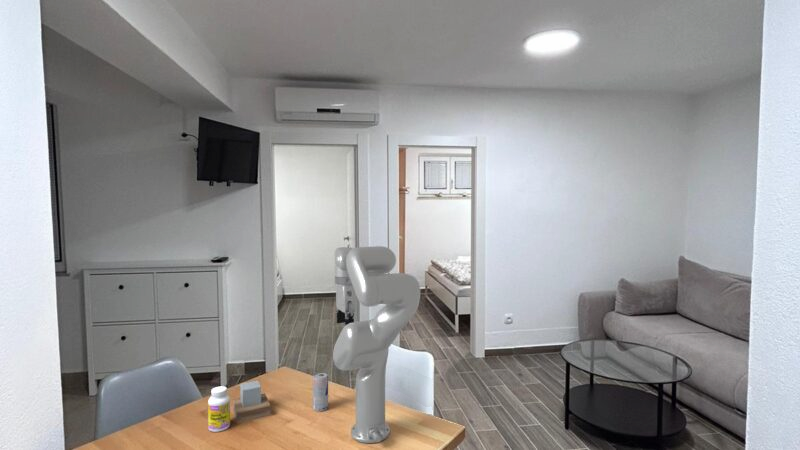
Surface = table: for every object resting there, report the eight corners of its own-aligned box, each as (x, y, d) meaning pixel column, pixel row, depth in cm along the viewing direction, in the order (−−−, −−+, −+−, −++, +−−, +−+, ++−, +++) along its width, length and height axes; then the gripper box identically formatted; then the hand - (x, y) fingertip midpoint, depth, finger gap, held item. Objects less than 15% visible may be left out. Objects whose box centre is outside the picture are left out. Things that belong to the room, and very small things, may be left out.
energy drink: (329, 405, 152) (329, 373, 151) (325, 412, 146) (325, 379, 146) (315, 404, 152) (315, 372, 152) (311, 411, 147) (311, 378, 146)
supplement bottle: (206, 434, 132) (205, 394, 132) (210, 423, 139) (209, 386, 138) (229, 431, 134) (228, 392, 133) (231, 421, 140) (231, 383, 140)
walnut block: (270, 417, 144) (270, 405, 144) (237, 424, 139) (236, 413, 139) (264, 403, 154) (264, 393, 154) (233, 410, 149) (233, 399, 148)
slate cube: (261, 403, 146) (260, 386, 145) (243, 407, 143) (242, 390, 142) (257, 396, 151) (257, 380, 150) (240, 400, 148) (240, 383, 148)
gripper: (362, 283, 148) (362, 331, 148) (347, 276, 163) (347, 319, 164) (342, 285, 144) (342, 333, 145) (328, 277, 160) (328, 321, 161)
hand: (345, 326), depth 154 cm, fingers open, 9 cm apart
